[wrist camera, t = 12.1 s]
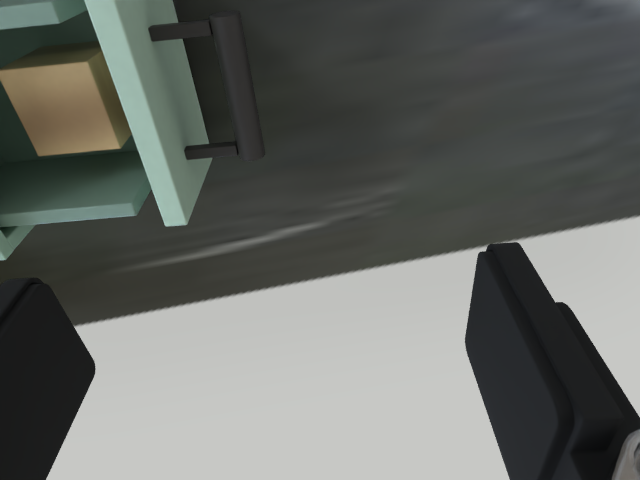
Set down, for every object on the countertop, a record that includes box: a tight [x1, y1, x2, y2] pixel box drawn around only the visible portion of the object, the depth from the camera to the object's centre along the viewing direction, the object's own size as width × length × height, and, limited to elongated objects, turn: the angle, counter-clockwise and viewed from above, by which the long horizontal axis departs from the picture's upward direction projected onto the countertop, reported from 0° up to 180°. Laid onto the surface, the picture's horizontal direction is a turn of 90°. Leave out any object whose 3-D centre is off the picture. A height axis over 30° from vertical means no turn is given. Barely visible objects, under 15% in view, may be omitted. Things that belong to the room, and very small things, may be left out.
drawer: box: [0, 0, 265, 227], centre depth 24 cm, size 18×11×8 cm, turn 95°
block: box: [0, 41, 132, 156], centre depth 24 cm, size 4×4×4 cm
